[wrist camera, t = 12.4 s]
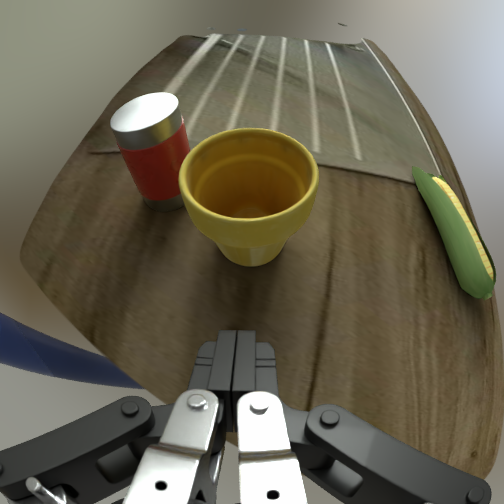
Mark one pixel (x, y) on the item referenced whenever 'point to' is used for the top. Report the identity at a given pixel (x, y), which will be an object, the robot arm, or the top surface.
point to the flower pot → (249, 191)
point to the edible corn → (458, 236)
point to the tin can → (153, 147)
